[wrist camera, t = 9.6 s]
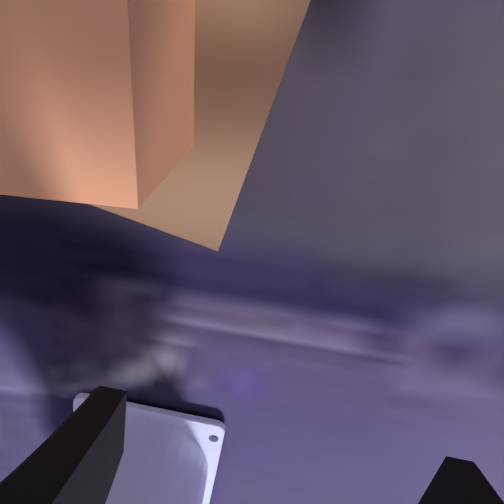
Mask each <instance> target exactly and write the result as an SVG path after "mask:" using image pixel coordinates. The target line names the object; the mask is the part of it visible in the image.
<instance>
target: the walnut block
mask: <svg viewBox="0 0 504 504" xmlns="http://www.w3.org/2000/svg"><path fill="white" fill-rule="evenodd" d="M310 1H311V0H195V57H194V144H193V146H192V147H191V149H190V150H189V151H188V152H187V153H186V154H185V156H184V157H183V158H182V159H181V160H180V161H179V162H178V164H177V165H176V166H175V167H174V168H173V169H172V171H171V172H170V173H169V174H168V175H167V176H166V177H165V179H164V180H163V181H162V182H161V183H160V184H159V186H158V187H157V188H156V189H155V190H154V191H153V192H152V194H151V195H150V196H149V197H148V198H147V199H146V201H145V202H144V203H143V204H142V205H141V206H140V207H139V209H132V208H123V207H113V206H104V205H95V204H90V205H93V206H96V207H98V208H101V209H104V210H107V211H109V212H112V213H115V214H118V215H120V216H123V217H126V218H128V219H131V220H134V221H137V222H139V223H142V224H145V225H148V226H150V227H153V228H156V229H159V230H161V231H164V232H167V233H170V234H172V235H175V236H178V237H181V238H183V239H186V240H189V241H192V242H194V243H197V244H200V245H203V246H205V247H208V248H211V249H213V250H216V251H218V250H219V247H220V244H221V241H222V239H223V236H224V233H225V231H226V228H227V225H228V222H229V220H230V217H231V214H232V212H233V209H234V206H235V204H236V201H237V198H238V195H239V193H240V190H241V187H242V185H243V182H244V179H245V176H246V174H247V171H248V168H249V166H250V163H251V160H252V158H253V155H254V152H255V149H256V147H257V144H258V141H259V139H260V136H261V133H262V130H263V128H264V125H265V122H266V120H267V117H268V114H269V112H270V109H271V106H272V103H273V101H274V98H275V95H276V93H277V90H278V87H279V85H280V82H281V79H282V76H283V74H284V71H285V68H286V66H287V63H288V60H289V57H290V55H291V52H292V49H293V47H294V44H295V41H296V39H297V36H298V33H299V30H300V28H301V25H302V22H303V20H304V17H305V14H306V11H307V9H308V6H309V3H310Z"/></svg>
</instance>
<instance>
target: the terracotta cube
mask: <svg viewBox="0 0 504 504" xmlns="http://www.w3.org/2000/svg"><path fill="white" fill-rule="evenodd" d="M194 57H195V0H0V195H10V196H19V197H29V198H38V199H47V200H57V201H66V202H76V203H85V204H95V205H104V206H113V207H123V208H132V209H139V207H140V206H141V205H142V204H143V203H144V202H145V201H146V199H147V198H148V197H149V196H150V195H151V194H152V192H153V191H154V190H155V189H156V188H157V187H158V186H159V184H160V183H161V182H162V181H163V180H164V179H165V177H166V176H167V175H168V174H169V173H170V172H171V171H172V169H173V168H174V167H175V166H176V165H177V164H178V162H179V161H180V160H181V159H182V158H183V157H184V156H185V154H186V153H187V152H188V151H189V150H190V149H191V147H192V146H193V144H194Z"/></svg>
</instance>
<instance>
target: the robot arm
mask: <svg viewBox="0 0 504 504" xmlns="http://www.w3.org/2000/svg"><path fill="white" fill-rule="evenodd" d="M224 434H225V425H224V423H223V422H221V421H219V420H215V419H210V418H205V417H200V416H196V415H191V414H186V413H181V412H176V411H171V410H166V409H161V408H156V407H151V406H146V405H141V404H137V403H132V402H127V391H123V390H118V389H113V388H108V387H103V386H99V387H97V388H95V389H94V390H93V392H92V393H91V394H87V393H79V394H77V395H76V397H75V399H74V401H73V413H72V414H71V415H70V416H69V417H68V418H67V420H66V421H65V422H64V423H63V424H62V425H61V426H60V427H59V428H58V429H57V430H56V431H55V432H54V433H53V434H52V435H51V436H50V437H49V438H48V439H47V440H46V441H44V442H43V443H42V444H41V445H40V446H39V447H38V448H37V449H36V450H35V451H34V452H33V453H32V454H31V455H30V456H29V457H28V458H27V459H26V460H25V461H23V462H22V463H21V464H20V465H19V466H18V467H17V468H16V469H15V470H14V471H13V472H12V473H11V474H9V475H8V476H7V477H6V478H5V479H4V480H3V481H2V482H0V504H209V502H210V498H211V493H212V489H213V484H214V479H215V475H216V470H217V466H218V461H219V457H220V452H221V447H222V443H223V438H224ZM214 435H215V436H214ZM418 504H504V502H503V501H502V500H501V498H500V497H499V496H498V494H497V493H496V491H495V490H494V489H493V487H492V486H491V485H490V483H489V482H488V481H487V479H486V478H485V476H484V475H483V474H482V472H481V471H480V470H479V469H478V467H477V466H476V465H475V463H474V462H472V461H467V460H462V459H457V458H452V457H447V456H446V458H445V459H444V461H443V463H442V464H441V466H440V468H439V469H438V471H437V473H436V475H435V476H434V478H433V480H432V481H431V483H430V485H429V486H428V488H427V490H426V491H425V493H424V495H423V496H422V498H421V500H420V501H419V503H418Z"/></svg>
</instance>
